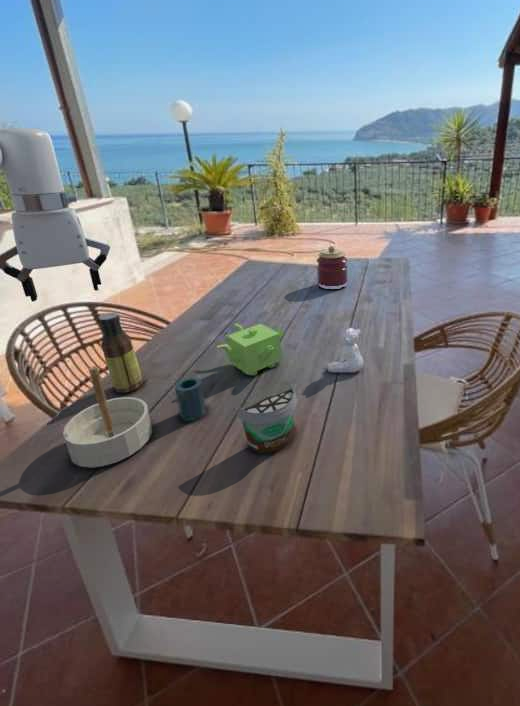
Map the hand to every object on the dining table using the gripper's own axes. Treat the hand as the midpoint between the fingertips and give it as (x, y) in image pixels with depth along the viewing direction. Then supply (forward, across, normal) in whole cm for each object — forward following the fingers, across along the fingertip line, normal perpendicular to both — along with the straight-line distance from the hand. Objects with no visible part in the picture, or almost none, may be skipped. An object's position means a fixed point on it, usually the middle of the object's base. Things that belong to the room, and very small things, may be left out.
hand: (66, 293), depth 75 cm
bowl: (+30, -1, +8) cm, 32 cm away
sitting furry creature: (+31, -57, +13) cm, 66 cm away
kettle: (+31, -36, -4) cm, 47 cm away
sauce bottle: (+31, -6, -12) cm, 33 cm away
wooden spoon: (+30, -1, +8) cm, 31 cm away
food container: (+31, -28, +28) cm, 50 cm away
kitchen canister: (+31, -88, -47) cm, 105 cm away
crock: (+30, -17, +8) cm, 36 cm away
